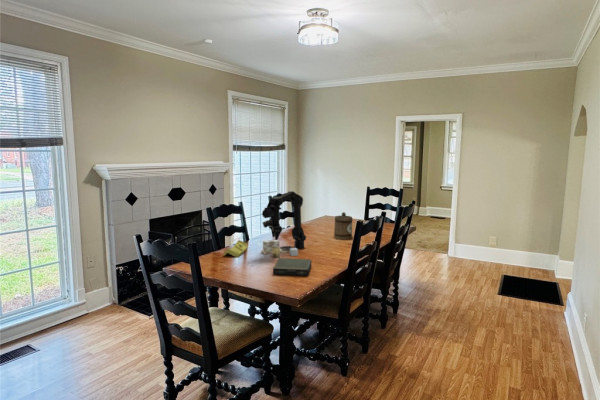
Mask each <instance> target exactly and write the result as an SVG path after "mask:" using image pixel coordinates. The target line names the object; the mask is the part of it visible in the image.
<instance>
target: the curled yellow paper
mask: <svg viewBox="0 0 600 400" xmlns="http://www.w3.org/2000/svg"><path fill="white" fill-rule="evenodd" d="M247 248H248V244H247V243H246V242H244V241H242V240H237V241H236V243H235V244H234V245H233V246H232V247H231V248H227V249H226V250H225V252H224V253H223V256H224V257H226V256H227V255H231V256H233V257H234V258H239V257H240V256H241V255H242V254H244V252H245V251H246V250H247ZM225 255H226V256H225Z"/></svg>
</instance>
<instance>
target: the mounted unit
mask: <svg viewBox="0 0 600 400" xmlns="http://www.w3.org/2000/svg"><path fill="white" fill-rule="evenodd" d="M274 247H278V248H280V254H284V253H285V254H286V253H290V248H294V246H291V245H287V246H285V245H284V246H280V240H279V239H277V240H275V239H273V240H272V239H271V240H263V241H262V250H261V252H262V254H264V255H271V254H272V255H273V248H274Z"/></svg>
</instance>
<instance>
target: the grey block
mask: <svg viewBox="0 0 600 400" xmlns="http://www.w3.org/2000/svg"><path fill="white" fill-rule="evenodd" d="M289 255H290V256H291V257H297V256H298V257H299V249H297V248H295V247H293V248H290V252H289Z"/></svg>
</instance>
